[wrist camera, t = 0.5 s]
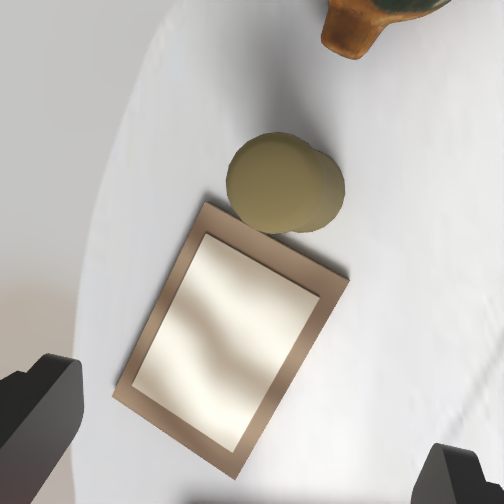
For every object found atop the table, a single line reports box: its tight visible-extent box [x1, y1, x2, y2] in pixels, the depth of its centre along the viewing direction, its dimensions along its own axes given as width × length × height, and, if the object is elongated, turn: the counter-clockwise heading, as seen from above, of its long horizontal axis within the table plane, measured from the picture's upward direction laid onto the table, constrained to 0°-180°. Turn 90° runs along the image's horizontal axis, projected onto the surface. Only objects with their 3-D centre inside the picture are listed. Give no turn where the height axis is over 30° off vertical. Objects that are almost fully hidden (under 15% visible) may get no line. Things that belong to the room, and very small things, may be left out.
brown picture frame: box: [112, 202, 350, 480], centre depth 34 cm, size 18×12×1 cm, turn 153°
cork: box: [226, 132, 345, 234], centre depth 27 cm, size 6×6×11 cm
